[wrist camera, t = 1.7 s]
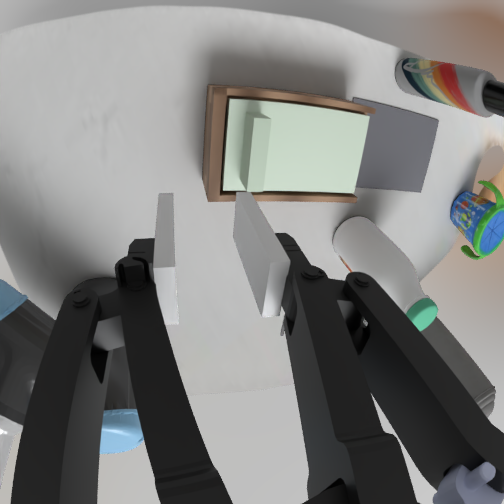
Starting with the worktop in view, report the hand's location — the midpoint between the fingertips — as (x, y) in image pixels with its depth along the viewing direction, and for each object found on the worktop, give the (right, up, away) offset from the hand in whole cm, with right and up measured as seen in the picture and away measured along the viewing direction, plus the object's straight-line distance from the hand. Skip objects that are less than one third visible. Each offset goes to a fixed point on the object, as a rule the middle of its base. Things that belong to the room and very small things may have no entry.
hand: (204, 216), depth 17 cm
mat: (+24, +13, +25) cm, 37 cm away
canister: (+37, -16, +49) cm, 63 cm away
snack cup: (+44, +7, +36) cm, 57 cm away
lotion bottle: (+25, +24, +19) cm, 40 cm away
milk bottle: (+19, +1, +33) cm, 38 cm away
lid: (+7, +10, +17) cm, 21 cm away
